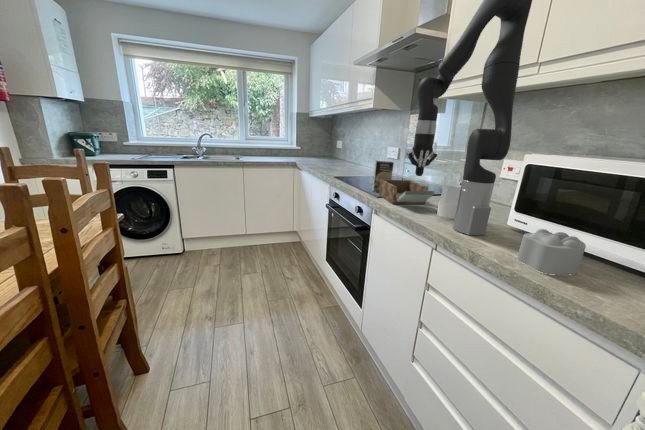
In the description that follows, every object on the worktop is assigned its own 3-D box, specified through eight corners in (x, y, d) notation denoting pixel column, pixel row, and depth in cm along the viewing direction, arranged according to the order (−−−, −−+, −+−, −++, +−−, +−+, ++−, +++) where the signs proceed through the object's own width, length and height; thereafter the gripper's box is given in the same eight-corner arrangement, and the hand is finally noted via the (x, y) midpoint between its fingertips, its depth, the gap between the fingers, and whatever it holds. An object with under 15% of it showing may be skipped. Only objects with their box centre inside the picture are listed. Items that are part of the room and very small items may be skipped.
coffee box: (372, 191, 149) (375, 161, 144) (372, 189, 155) (374, 160, 150) (390, 192, 148) (393, 162, 143) (388, 190, 154) (392, 161, 149)
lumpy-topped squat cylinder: (510, 257, 75) (518, 227, 72) (550, 256, 77) (560, 226, 75) (545, 277, 65) (556, 243, 63) (590, 274, 67) (603, 242, 65)
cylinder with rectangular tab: (450, 212, 116) (455, 184, 113) (466, 218, 108) (472, 188, 105) (432, 212, 114) (437, 184, 110) (447, 219, 106) (453, 189, 102)
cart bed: (425, 204, 127) (427, 187, 124) (392, 204, 124) (394, 186, 122) (407, 195, 144) (409, 180, 141) (378, 195, 141) (380, 179, 139)
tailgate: (424, 202, 125) (434, 194, 117) (397, 202, 123) (405, 193, 114) (423, 199, 125) (434, 191, 117) (396, 199, 123) (405, 190, 115)
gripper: (435, 133, 115) (428, 174, 120) (405, 131, 113) (400, 174, 118) (445, 133, 108) (438, 177, 113) (414, 132, 106) (408, 177, 111)
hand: (418, 175), depth 116 cm, fingers closed
